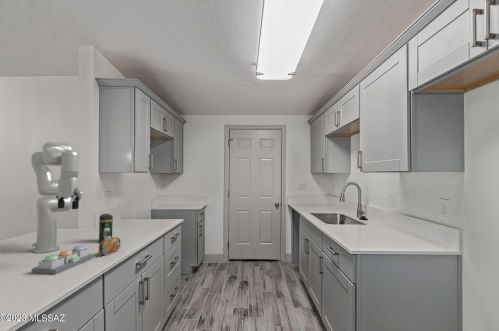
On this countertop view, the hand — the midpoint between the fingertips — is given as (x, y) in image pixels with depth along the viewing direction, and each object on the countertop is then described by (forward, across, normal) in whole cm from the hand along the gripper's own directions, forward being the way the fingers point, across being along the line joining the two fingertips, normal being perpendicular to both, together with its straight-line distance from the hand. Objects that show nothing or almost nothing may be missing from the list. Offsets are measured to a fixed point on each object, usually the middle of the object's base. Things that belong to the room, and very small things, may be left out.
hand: (68, 208), depth 139 cm
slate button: (+24, +2, +5) cm, 24 cm away
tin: (+28, +8, +20) cm, 35 cm away
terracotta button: (+24, +4, -3) cm, 24 cm away
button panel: (+27, +4, -3) cm, 28 cm away
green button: (+24, +5, -11) cm, 27 cm away
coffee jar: (+28, -17, +41) cm, 52 cm away
